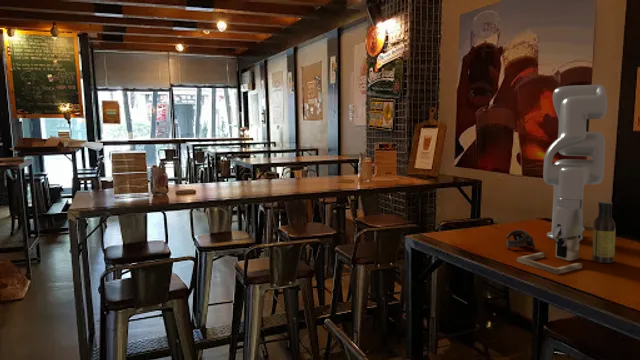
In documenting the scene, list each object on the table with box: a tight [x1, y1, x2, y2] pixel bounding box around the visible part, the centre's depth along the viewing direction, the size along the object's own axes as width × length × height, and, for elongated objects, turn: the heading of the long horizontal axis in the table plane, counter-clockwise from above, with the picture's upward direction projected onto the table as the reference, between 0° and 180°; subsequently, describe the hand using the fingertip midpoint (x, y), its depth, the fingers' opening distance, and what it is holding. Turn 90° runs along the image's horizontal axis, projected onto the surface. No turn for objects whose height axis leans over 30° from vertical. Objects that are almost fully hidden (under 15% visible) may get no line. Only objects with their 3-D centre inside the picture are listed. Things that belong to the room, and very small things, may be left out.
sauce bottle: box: [591, 201, 617, 264], centre depth 147 cm, size 6×6×20 cm
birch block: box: [554, 237, 581, 261], centre depth 151 cm, size 5×5×7 cm
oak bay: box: [516, 251, 583, 275], centre depth 144 cm, size 12×14×2 cm
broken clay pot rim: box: [505, 229, 536, 251], centre depth 164 cm, size 12×10×8 cm
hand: (566, 255), depth 152 cm, fingers closed on birch block, 5 cm apart
